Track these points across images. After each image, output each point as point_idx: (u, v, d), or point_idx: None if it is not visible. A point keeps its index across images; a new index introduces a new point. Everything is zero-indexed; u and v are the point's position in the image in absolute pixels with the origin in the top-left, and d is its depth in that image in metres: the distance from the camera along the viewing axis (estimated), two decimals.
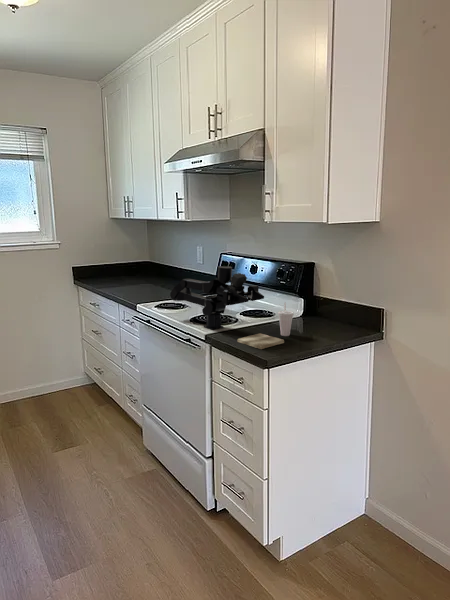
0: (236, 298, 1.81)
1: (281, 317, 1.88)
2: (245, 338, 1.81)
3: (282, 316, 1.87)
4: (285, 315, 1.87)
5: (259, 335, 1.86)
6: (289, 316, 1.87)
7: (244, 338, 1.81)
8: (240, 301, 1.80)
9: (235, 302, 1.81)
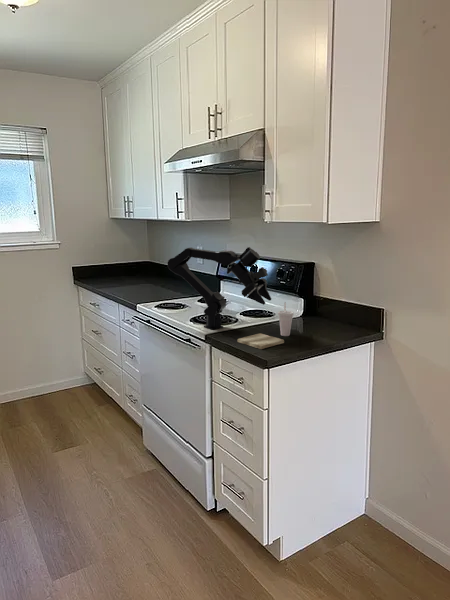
0: (254, 295, 1.87)
1: (281, 317, 1.88)
2: (245, 338, 1.81)
3: (282, 316, 1.87)
4: (285, 315, 1.87)
5: (259, 335, 1.86)
6: (289, 316, 1.87)
7: (244, 338, 1.81)
8: (257, 300, 1.87)
9: (252, 297, 1.87)
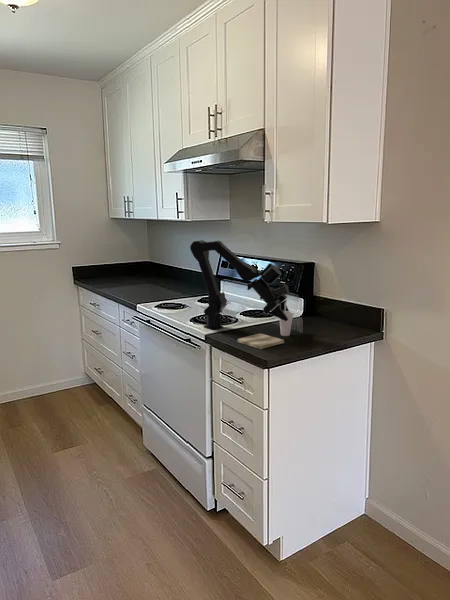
0: (277, 311, 1.86)
1: None
2: (245, 338, 1.81)
3: None
4: None
5: (259, 335, 1.86)
6: (289, 316, 1.87)
7: (244, 338, 1.81)
8: (279, 316, 1.86)
9: (274, 314, 1.86)
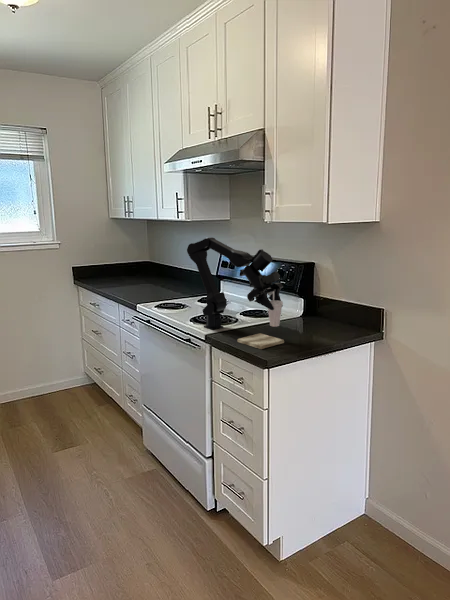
0: (263, 299, 1.79)
1: None
2: (245, 338, 1.81)
3: None
4: (272, 305, 1.78)
5: (259, 335, 1.86)
6: (276, 306, 1.78)
7: (244, 338, 1.81)
8: (265, 305, 1.78)
9: (260, 302, 1.79)
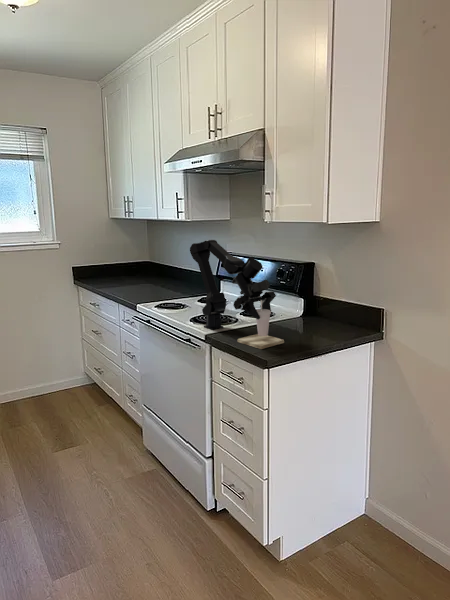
0: (250, 308, 1.76)
1: None
2: (245, 338, 1.81)
3: None
4: None
5: None
6: (262, 315, 1.75)
7: (244, 338, 1.81)
8: (251, 313, 1.76)
9: (247, 310, 1.77)
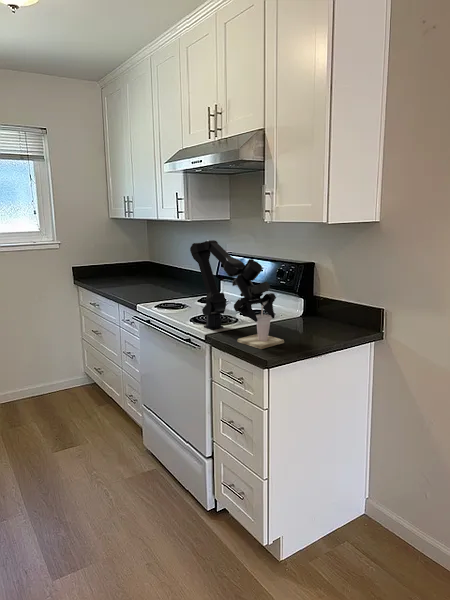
0: (247, 310, 1.75)
1: None
2: (245, 338, 1.81)
3: None
4: (258, 318, 1.75)
5: None
6: (263, 320, 1.75)
7: (244, 338, 1.81)
8: (249, 316, 1.75)
9: (244, 313, 1.76)
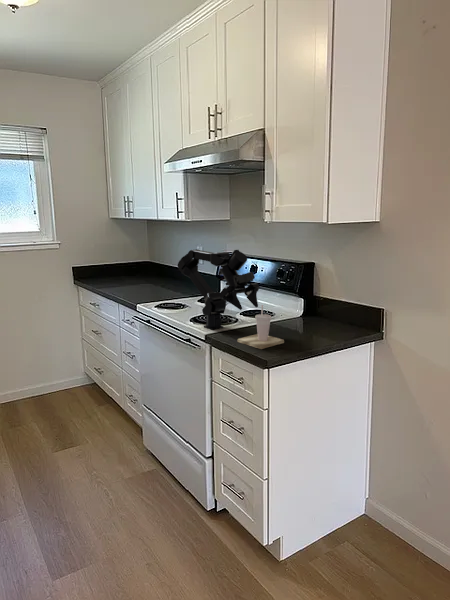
0: (233, 298, 1.82)
1: (256, 320, 1.77)
2: (245, 338, 1.81)
3: (256, 319, 1.77)
4: (258, 318, 1.75)
5: None
6: (263, 320, 1.75)
7: (244, 338, 1.81)
8: (234, 304, 1.81)
9: (230, 301, 1.82)
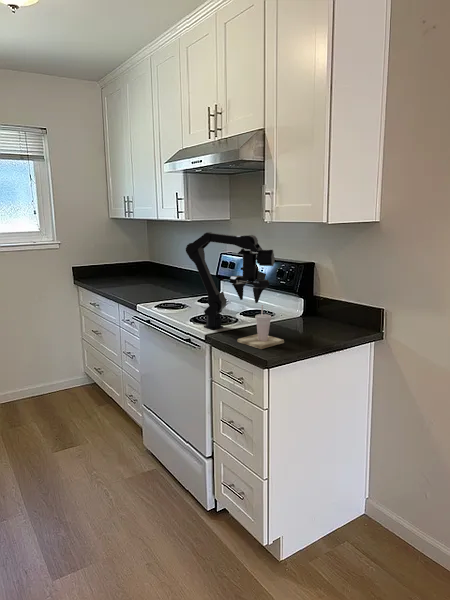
0: (258, 290, 1.90)
1: (256, 320, 1.77)
2: (245, 338, 1.81)
3: (256, 319, 1.77)
4: (258, 318, 1.75)
5: None
6: (263, 320, 1.75)
7: (244, 338, 1.81)
8: (256, 296, 1.90)
9: (256, 291, 1.88)
